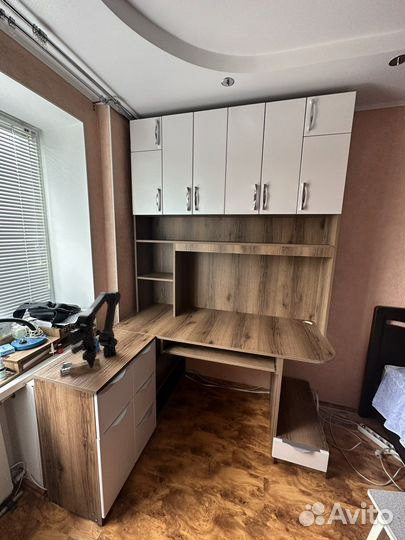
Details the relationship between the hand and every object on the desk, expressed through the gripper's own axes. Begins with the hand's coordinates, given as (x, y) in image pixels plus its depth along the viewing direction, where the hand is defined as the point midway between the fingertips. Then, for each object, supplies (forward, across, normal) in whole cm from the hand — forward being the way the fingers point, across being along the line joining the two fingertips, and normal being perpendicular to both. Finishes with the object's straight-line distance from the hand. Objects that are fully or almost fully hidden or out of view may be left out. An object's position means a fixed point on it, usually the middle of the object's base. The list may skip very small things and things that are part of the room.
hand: (91, 363), depth 123 cm
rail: (+3, 0, -3) cm, 4 cm away
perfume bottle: (+3, -24, 0) cm, 24 cm away
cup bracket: (+3, -5, -12) cm, 13 cm away
